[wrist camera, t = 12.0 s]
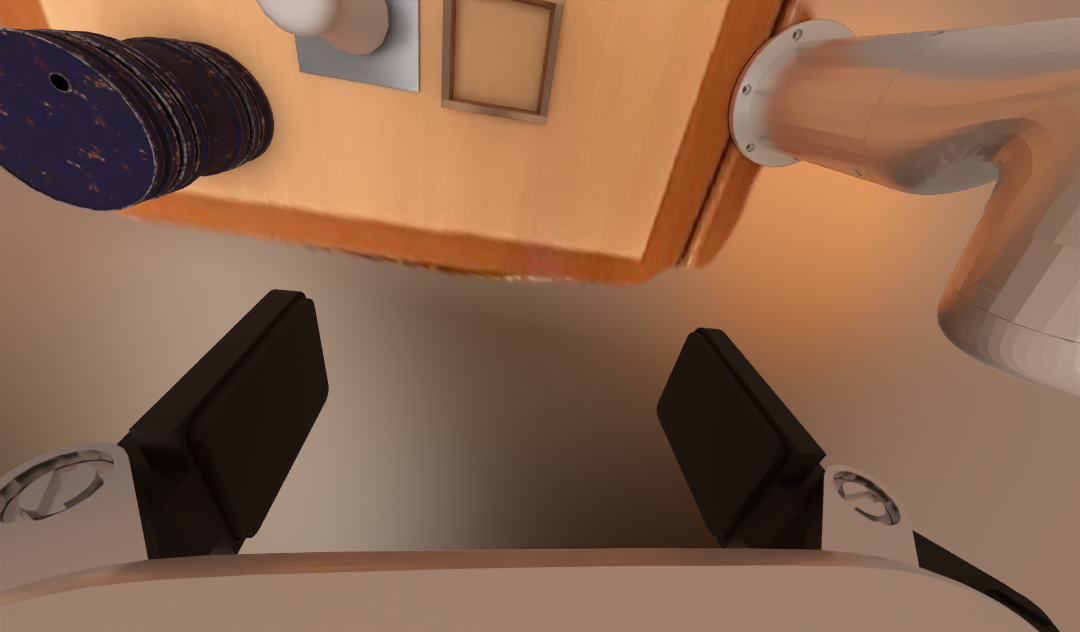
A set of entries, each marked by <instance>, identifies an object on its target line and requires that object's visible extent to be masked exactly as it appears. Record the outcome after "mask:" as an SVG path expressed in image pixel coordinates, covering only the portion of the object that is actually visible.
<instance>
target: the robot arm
mask: <svg viewBox="0 0 1080 632" xmlns="http://www.w3.org/2000/svg"><path fill="white" fill-rule="evenodd" d="M793 34H794V35H793ZM743 88H744V91H743V92H742V90H743ZM729 127H730V133H731V136H732V140H733V142H734V144H735V146H736V147H737V149H738V151H739V152H740V153H741V154H742V155H743V156H744V157H745V158H747V159H749V160H750V161H752V162H754V163H757V164H760V165H762V166H769V167H783V166H787V165H791V164H794V163H797V162H799V161H801V160H803V161H807V162H810V163H813V164H816V165H820V166H822V167H826V168H829V169H832V170H835V171H839V172H842V173H845V174H848V175H851V176H855V177H857V178H860V179H864V180H867V181H870V182H873V183H876V184H880V185H883V186H885V187H888V188H892V189H895V190H898V191H902V192H906V193H911V194H920V195H934V194H946V193H952V192H957V191H961V190H966V189H970V188H974V187H977V186H980V185H984V184H987V183H990V182H993V181H996V180H997V183H996V185H995V187H994V189H993V192H992V194H991V196H990V198H989V200H988V202H987V204H986V206H985V211H984V213H983V215H982V217H981V219H980V221H979V223H978V225H977V227H976V229H975V230H974V232H973V234H972V236H971V238H970V240H969V242H968V244H967V246H966V247H965V249H964V251H963V253H962V255H961V257H960V259H959V261H958V263H957V265H956V266H955V269H954V270H953V272H952V274H951V276H950V278H949V280H948V282H947V284H946V286H945V288H944V291H943V293H942V295H941V298H940V300H939V304H938V307H937V321H938V325H939V327H940V329H941V331H942V333H943V335H944V336H945V337H946V338H947V339H948V340H949V341H950V342H951V343H952V344H953V345H954V346H955V347H957V348H958V349H959V350H961V351H962V352H964V353H965V354H967V355H968V356H970V357H972V358H973V359H975V360H977V361H979V362H981V363H983V364H985V365H987V366H989V367H992V368H994V369H996V370H999V371H1001V372H1004V373H1006V374H1009V375H1011V376H1014V377H1016V378H1019V379H1021V380H1024V381H1027V382H1030V383H1033V384H1036V385H1039V386H1042V387H1045V388H1048V389H1051V390H1054V391H1057V392H1061V393H1064V394H1067V395H1070V396H1073V397H1076V398H1079V399H1080V17H1075V18H1067V19H1058V20H1049V21H1041V22H1032V23H1023V24H1014V25H1002V26H990V27H977V28H964V29H951V30H939V31H926V32H913V33H901V34H889V35H875V36H863V37H855V35H854V34H853V32H852V31H851V30H850V29H848V28H847V27H846V26H845V25H843V24H841V23H838V22H836V21H834V20H826V19H816V20H808V21H804V22H800V23H796V24H793V25H791V26H789V27H787V28H785V29H783V30H781V31H780V32H778V33H777V34H776V35H774V36H773V37H771V38H770V39H769V40H768V41H767V42H766V43H764V44H763V45H762V46H761V47H760V48H759V49H758V50H757V51H756V53H755V54H754V55H753V57H752V58H751V59H750V60H749V62H748V63H747V65H746V66H745V68H744V70H743V71H742V73H741V75H740V77H739V79H738V81H737V84H736V86H735V89H734V91H733V95H732V99H731V103H730V109H729ZM747 145H748V146H747ZM746 147H747V148H746ZM328 388H329V386H328V380H327V374H326V368H325V363H324V357H323V351H322V345H321V340H320V335H319V328H318V323H317V317H316V311H315V306H314V302H313V300H312V299H307V298H306V296H305V295H304V293H303V292H299V291H288V290H277V289H275V290H271V291H270V292H269V293H268V294H267V295H266V296H265V297H263V299H261V300H260V301H259V302H258V303H257V304H256V305H255V306H254V307H253V308H252V309H251V310H250V311H249V312H248V313H247V314H246V315H245V316H244V317H243V318H242V319H241V320H240V321H239V322H238V323H237V324H236V325H235V326H234V327H233V328H232V329H231V330H230V331H229V332H228V333H227V334H226V335H225V336H224V337H223V338H222V339H221V340H220V341H219V342H218V343H217V344H216V345H215V346H214V347H213V348H212V349H211V350H210V351H209V352H208V353H206V354H205V356H203V357H202V358H201V359H200V360H199V361H198V362H197V363H196V364H195V365H194V366H193V367H192V368H191V369H190V370H189V371H188V372H187V373H186V374H185V375H184V376H183V377H182V378H181V379H180V380H179V381H178V382H177V383H176V384H175V385H174V386H173V387H172V388H171V389H170V390H169V391H168V392H167V393H166V394H165V395H164V396H163V397H162V398H161V399H160V400H159V401H158V402H157V403H156V404H155V405H154V406H153V407H152V408H151V409H149V410H148V412H146V414H144V415H143V416H142V417H141V418H140V419H139V420H138V421H137V422H136V423H135V424H134V425H133V426H132V427H131V428H130V429H129V431H130V432H129V433H128V434H127V435H126V436H125V437H124V438H123V439H122V440H121V441H120V442H119V443H118V444H117V445H115V444H113V443H105V442H90V443H81V444H75V445H71V446H68V447H64V448H60V449H57V450H54V451H51V452H49V453H46V454H44V455H41V456H39V457H36V458H34V459H31V460H30V461H28V462H26V463H24V464H22V465H21V466H19V467H17V468H15V469H14V470H12V471H10V472H8V473H7V474H6V475H4V476H3V477H2V478H0V632H1059V630H1058V629H1057V628H1056V626H1055V625H1054V624H1053V623H1052V622H1051V620H1050V619H1049V618H1048V616H1047V615H1046V614H1045V613H1044V612H1043V611H1042V610H1041V609H1040V608H1039V607H1038V606H1037V605H1035V604H1034V603H1033V602H1032V601H1030V600H1029V599H1028V598H1026V597H1025V596H1023V595H1021V594H1019V593H1018V592H1016V591H1015V590H1013V589H1012V588H1010V587H1008V586H1007V585H1005V584H1004V583H1002V582H1000V581H999V580H997V579H995V578H994V577H992V576H990V575H988V574H987V573H985V572H983V571H982V570H980V569H978V568H976V567H975V566H973V565H971V564H970V563H968V562H966V561H964V560H963V559H961V558H959V557H957V556H956V555H954V554H952V553H951V552H949V551H947V550H946V549H944V548H942V547H940V546H939V545H937V544H935V543H933V542H932V541H930V540H928V539H927V538H925V537H923V536H922V535H920V534H918V533H916V532H915V531H913V530H912V526H911V521H910V518H909V515H908V513H907V510H906V509H905V507H904V506H903V505H902V503H901V502H900V500H899V499H898V498H897V497H896V496H895V495H893V493H892V492H891V491H890V490H889V489H888V488H886V487H885V486H884V485H883V484H881V483H880V482H879V481H877V480H876V479H874V478H873V477H871V476H869V475H867V474H866V473H864V472H862V471H860V470H857V469H855V468H852V467H849V466H844V465H832V466H830V467H829V468H827V469H826V470H824V469H823V468H822V466H821V465H820V464H819V463H820V462H821V460H822V459H823V458H824V457H825V456H826V453H825V452H824V451H823V450H822V449H821V447H820V446H819V445H818V444H817V443H816V441H815V440H814V439H813V438H812V437H811V435H810V434H809V433H808V432H807V431H806V429H805V428H804V427H803V426H802V425H801V424H800V423H799V421H798V420H797V419H796V418H795V416H794V415H793V414H792V413H791V412H790V410H789V409H788V408H787V407H786V406H785V404H784V403H783V402H782V401H781V400H780V399H779V397H778V396H777V395H776V394H775V392H774V391H773V390H772V389H771V388H770V386H769V385H768V384H767V383H766V382H765V381H764V379H763V378H762V377H761V376H760V375H759V373H758V372H757V371H756V370H755V369H754V367H753V366H752V365H751V364H750V363H749V361H748V360H747V359H746V358H745V357H744V355H743V354H742V353H741V352H740V351H739V349H738V348H737V347H736V346H735V345H734V343H733V342H732V341H731V340H730V339H729V338H728V336H727V335H726V334H725V333H724V332H723V331H722V330H720V329H711V328H698V329H696V330H695V331H694V332H692V333H690V334H689V335H688V337H687V339H686V341H685V343H684V346H683V348H682V350H681V353H680V355H679V357H678V359H677V361H676V364H675V366H674V368H673V370H672V373H671V375H670V377H669V379H668V382H667V384H666V386H665V388H664V391H663V393H662V395H661V397H660V399H659V402H658V404H657V415H658V418H659V421H660V423H661V425H662V428H663V430H664V432H665V434H666V436H667V439H668V441H669V443H670V445H671V448H672V450H673V452H674V454H675V456H676V459H677V461H678V463H679V466H680V467H681V470H682V472H683V474H684V477H685V479H686V481H687V483H688V486H689V488H690V490H691V492H692V494H693V497H694V499H695V501H696V503H697V506H698V508H699V510H700V513H701V515H702V517H703V519H704V522H705V524H706V526H707V528H708V530H709V532H710V533H711V534H712V535H713V536H716V537H717V540H718V542H719V544H720V546H721V549H547V550H546V549H544V550H543V549H541V550H539V549H536V550H535V549H532V550H442V551H441V550H435V551H360V552H303V553H269V554H238V552H239V550H240V548H241V546H242V545H243V543H244V541H245V539H246V538H252V537H253V536H254V535H255V534H256V533H257V532H258V530H259V529H260V527H261V525H262V523H263V521H264V519H265V517H266V515H267V513H268V511H269V509H270V508H271V506H272V504H273V502H274V500H275V498H276V496H277V494H278V492H279V490H280V488H281V486H282V484H283V482H284V481H285V479H286V477H287V475H288V473H289V471H290V469H291V467H292V465H293V463H294V461H295V459H296V457H297V455H298V454H299V452H300V449H301V448H302V446H303V444H304V442H305V440H306V438H307V436H308V434H309V432H310V431H311V429H312V427H313V425H314V423H315V420H316V419H317V417H318V415H319V413H320V411H321V409H322V407H323V405H324V403H325V402H326V399H327V396H328ZM747 548H748V549H747Z"/></svg>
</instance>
